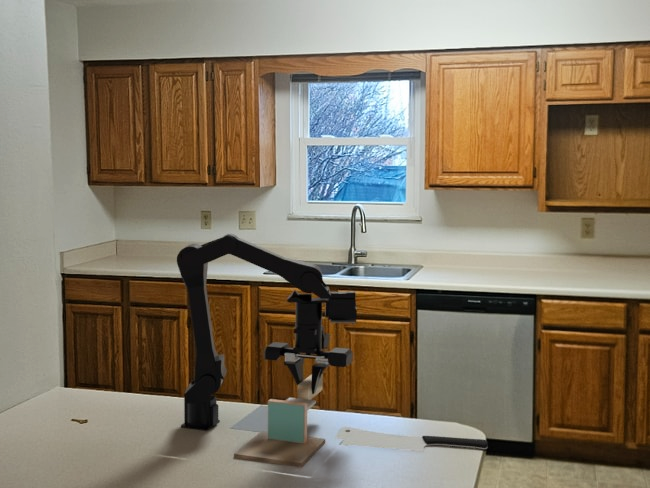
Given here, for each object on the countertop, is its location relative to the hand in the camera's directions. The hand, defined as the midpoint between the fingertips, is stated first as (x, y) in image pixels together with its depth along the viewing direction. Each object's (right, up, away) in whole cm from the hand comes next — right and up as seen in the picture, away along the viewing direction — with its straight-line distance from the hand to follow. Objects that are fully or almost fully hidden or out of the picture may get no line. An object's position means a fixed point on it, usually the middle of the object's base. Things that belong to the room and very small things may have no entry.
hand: (307, 392), depth 170 cm
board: (-5, -9, -14) cm, 17 cm away
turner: (0, -1, -1) cm, 2 cm away
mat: (-9, -7, +4) cm, 12 cm away
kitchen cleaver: (+21, -9, -10) cm, 25 cm away
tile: (-4, -4, -11) cm, 13 cm away
